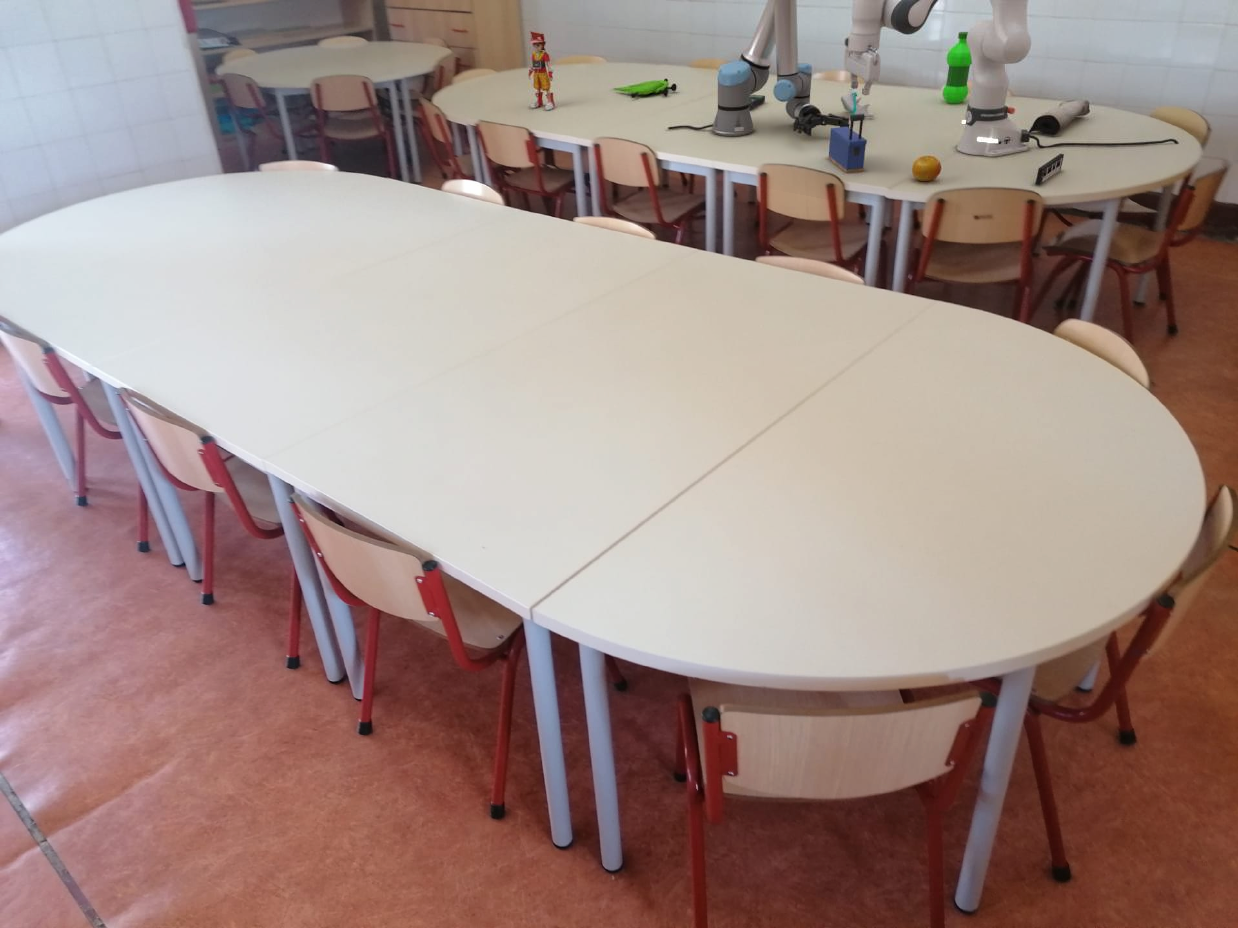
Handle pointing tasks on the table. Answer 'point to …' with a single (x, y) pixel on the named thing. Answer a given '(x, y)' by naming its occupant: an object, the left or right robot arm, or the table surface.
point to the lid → (851, 131)
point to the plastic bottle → (958, 71)
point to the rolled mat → (1060, 117)
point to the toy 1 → (541, 71)
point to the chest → (846, 154)
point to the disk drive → (755, 101)
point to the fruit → (926, 168)
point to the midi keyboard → (1049, 169)
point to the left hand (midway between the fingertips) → (829, 130)
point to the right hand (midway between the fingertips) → (859, 91)
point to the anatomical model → (854, 104)
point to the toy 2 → (648, 88)
